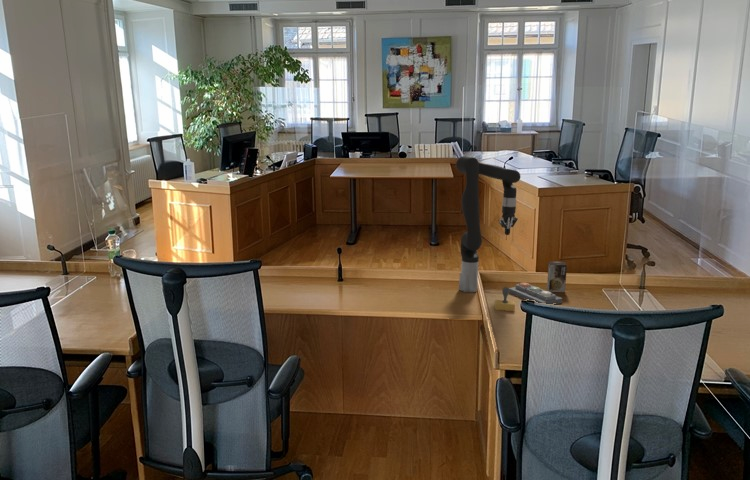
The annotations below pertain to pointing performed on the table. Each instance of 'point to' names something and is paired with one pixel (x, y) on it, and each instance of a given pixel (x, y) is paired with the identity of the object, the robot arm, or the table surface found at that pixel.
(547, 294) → the cream button
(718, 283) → the table surface
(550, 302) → the console
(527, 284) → the terracotta button
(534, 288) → the sage button
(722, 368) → the table surface
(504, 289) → the rubber stamp
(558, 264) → the coffee box
